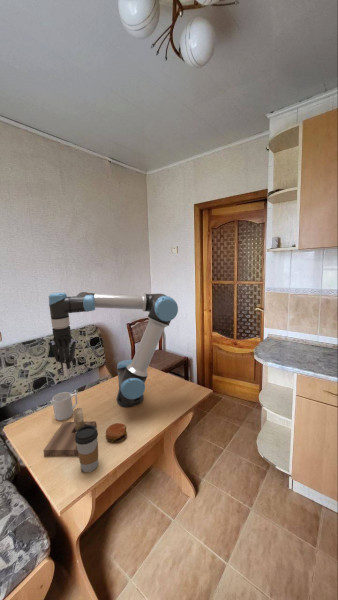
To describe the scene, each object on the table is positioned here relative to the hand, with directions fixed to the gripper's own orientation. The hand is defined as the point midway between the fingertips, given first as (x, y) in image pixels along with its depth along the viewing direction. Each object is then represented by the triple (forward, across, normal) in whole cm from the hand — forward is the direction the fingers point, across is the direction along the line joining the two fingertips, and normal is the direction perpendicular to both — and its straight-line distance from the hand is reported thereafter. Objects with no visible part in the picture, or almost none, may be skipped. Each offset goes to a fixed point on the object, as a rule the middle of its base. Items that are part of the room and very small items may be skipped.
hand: (67, 375), depth 116 cm
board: (+26, -4, +10) cm, 29 cm away
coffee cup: (+27, -17, +24) cm, 40 cm away
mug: (+27, +7, -9) cm, 29 cm away
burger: (+27, -24, +8) cm, 36 cm away
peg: (+26, -6, +6) cm, 28 cm away
